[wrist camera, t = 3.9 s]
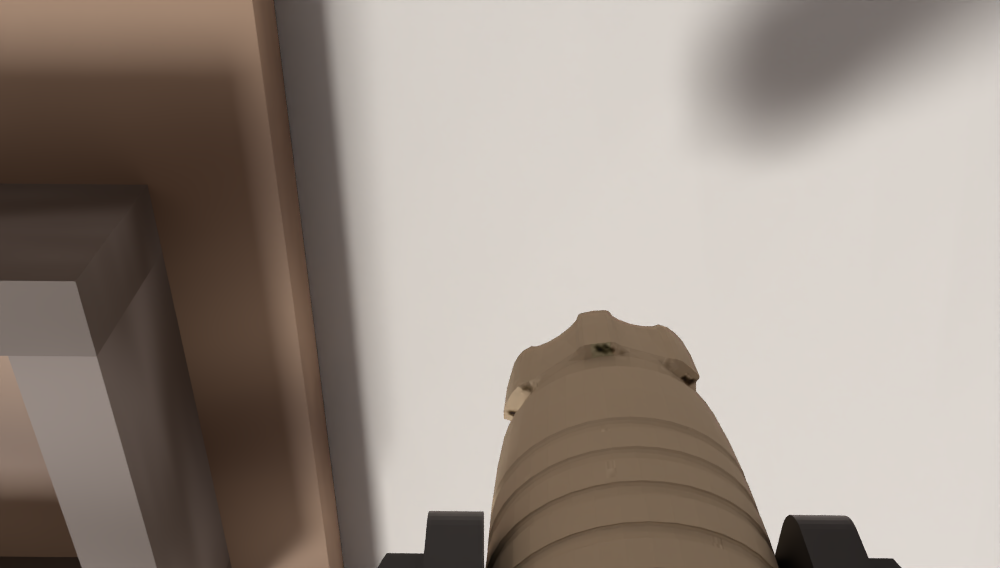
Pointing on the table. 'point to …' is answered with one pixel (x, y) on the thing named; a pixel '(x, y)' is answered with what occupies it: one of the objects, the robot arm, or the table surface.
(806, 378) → the table surface
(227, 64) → the holder
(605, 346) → the handle
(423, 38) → the table surface
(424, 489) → the table surface
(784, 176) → the table surface
